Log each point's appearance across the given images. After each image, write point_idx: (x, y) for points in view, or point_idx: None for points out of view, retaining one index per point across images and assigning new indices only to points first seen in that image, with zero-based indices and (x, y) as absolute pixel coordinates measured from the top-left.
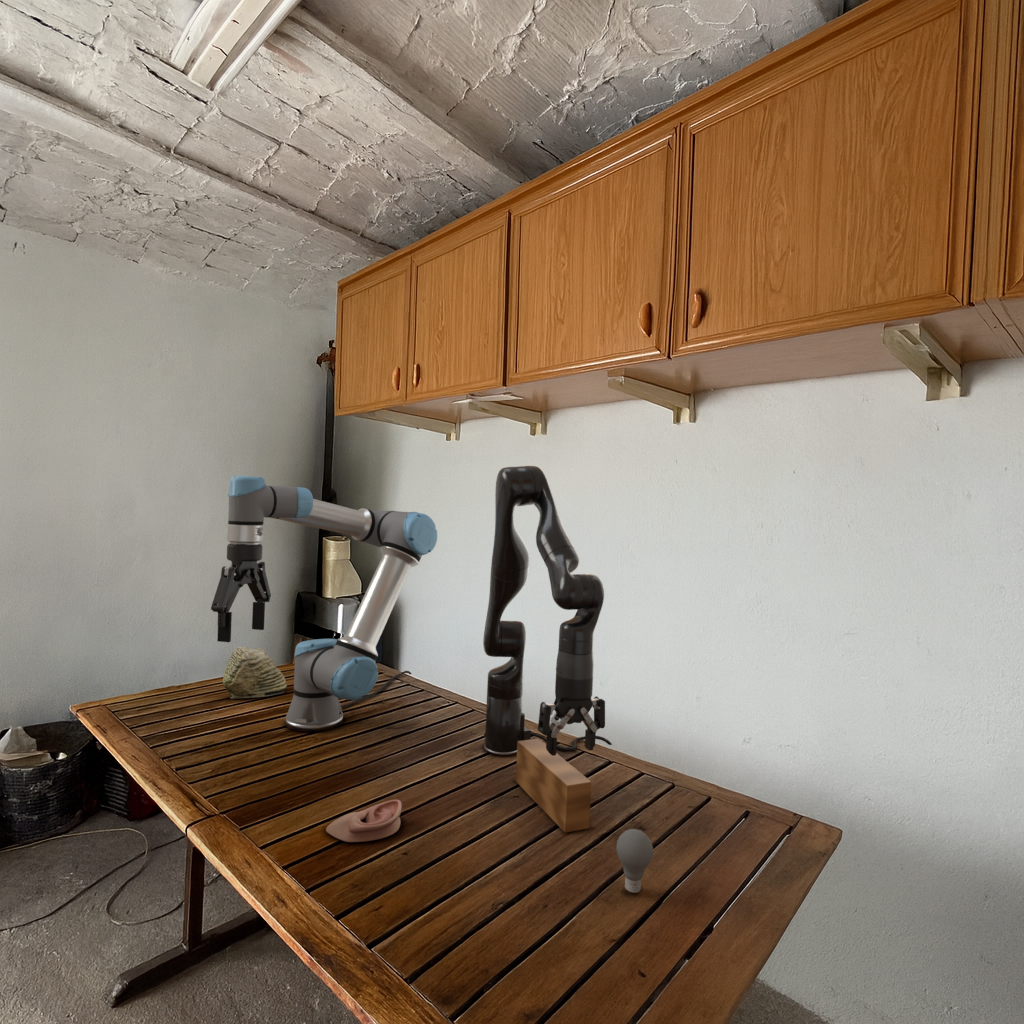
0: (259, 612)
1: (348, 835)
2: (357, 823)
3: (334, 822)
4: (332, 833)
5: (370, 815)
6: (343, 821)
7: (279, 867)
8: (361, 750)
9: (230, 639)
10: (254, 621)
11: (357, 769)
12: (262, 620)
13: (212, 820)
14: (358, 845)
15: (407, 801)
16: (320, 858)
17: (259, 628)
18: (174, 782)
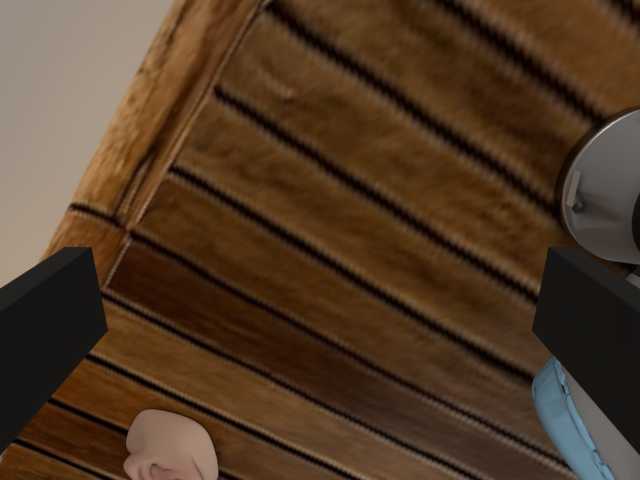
0: (636, 403)
1: (129, 449)
2: (137, 466)
3: (152, 423)
4: (133, 424)
5: (167, 474)
6: (146, 441)
7: None
8: (461, 350)
9: (96, 339)
10: (583, 298)
11: (368, 374)
12: (575, 378)
13: (103, 234)
14: None
15: (271, 475)
16: (81, 426)
17: (540, 314)
18: (207, 52)
